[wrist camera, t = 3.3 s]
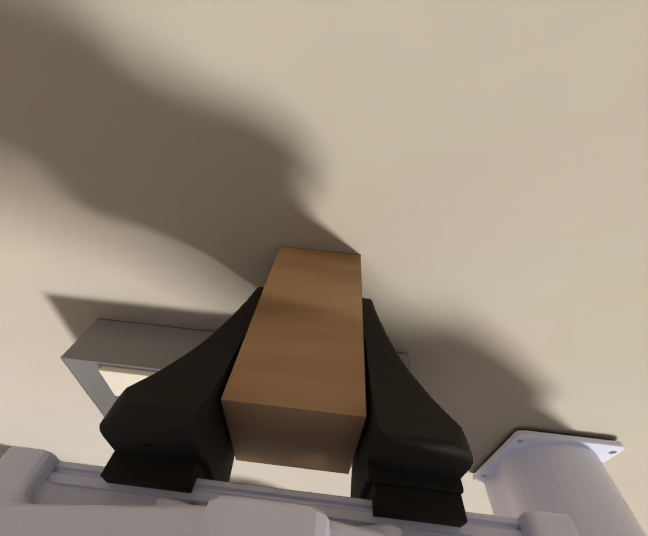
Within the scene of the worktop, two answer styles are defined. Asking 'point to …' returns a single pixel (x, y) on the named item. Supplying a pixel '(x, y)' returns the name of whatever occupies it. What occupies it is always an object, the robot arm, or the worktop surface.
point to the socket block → (128, 356)
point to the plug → (301, 366)
